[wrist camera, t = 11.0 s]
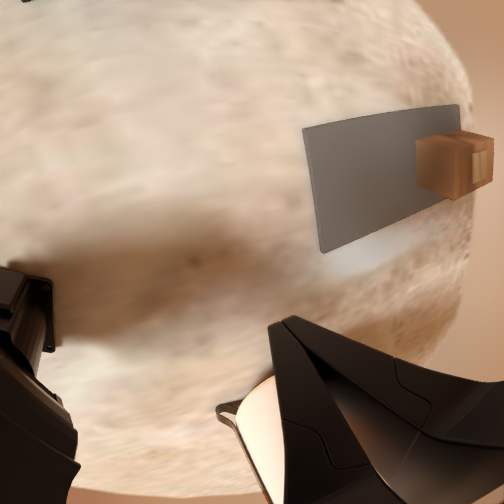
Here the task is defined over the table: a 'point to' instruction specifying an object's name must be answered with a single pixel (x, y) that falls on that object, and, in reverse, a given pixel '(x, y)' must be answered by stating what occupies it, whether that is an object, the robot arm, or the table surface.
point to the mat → (370, 170)
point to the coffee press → (261, 437)
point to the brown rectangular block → (454, 163)
